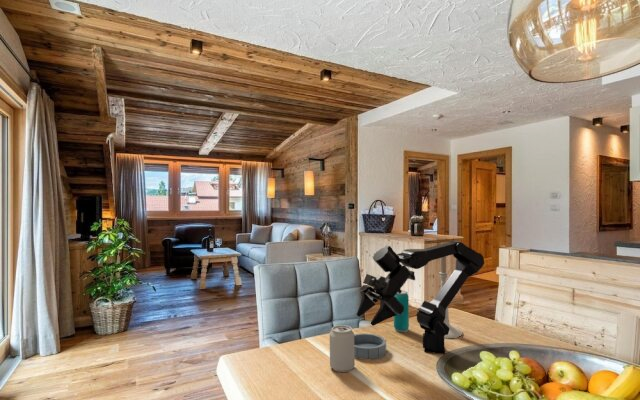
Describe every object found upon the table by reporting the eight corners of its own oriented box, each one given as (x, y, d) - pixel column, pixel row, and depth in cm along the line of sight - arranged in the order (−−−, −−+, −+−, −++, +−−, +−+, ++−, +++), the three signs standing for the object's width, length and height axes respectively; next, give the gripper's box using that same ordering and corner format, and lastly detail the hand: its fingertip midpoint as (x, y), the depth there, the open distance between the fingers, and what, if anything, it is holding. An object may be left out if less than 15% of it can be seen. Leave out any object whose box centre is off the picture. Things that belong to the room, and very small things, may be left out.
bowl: (387, 345, 123) (387, 335, 123) (383, 361, 110) (383, 350, 110) (351, 341, 126) (351, 331, 126) (343, 356, 114) (343, 345, 114)
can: (357, 364, 109) (356, 325, 109) (351, 375, 102) (350, 333, 102) (334, 360, 111) (333, 322, 111) (326, 371, 104) (326, 330, 104)
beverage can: (407, 327, 140) (407, 290, 140) (410, 333, 134) (409, 293, 134) (393, 327, 141) (392, 290, 141) (394, 332, 135) (394, 293, 135)
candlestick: (425, 336, 131) (424, 255, 132) (428, 325, 143) (427, 251, 143) (462, 340, 126) (460, 257, 127) (462, 329, 138) (461, 252, 139)
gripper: (364, 260, 120) (335, 296, 116) (395, 269, 103) (361, 312, 99) (384, 281, 123) (357, 317, 119) (417, 294, 106) (386, 336, 101)
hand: (364, 320), depth 109 cm, fingers open, 9 cm apart
